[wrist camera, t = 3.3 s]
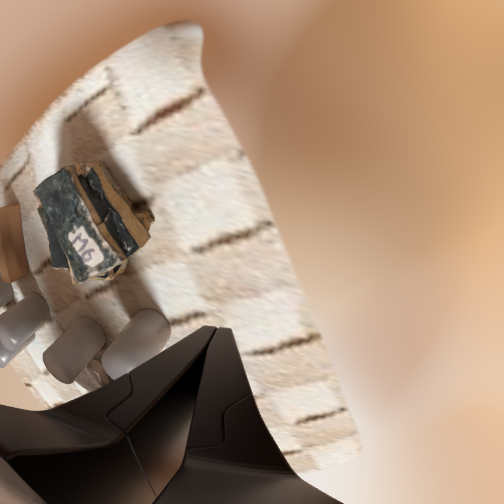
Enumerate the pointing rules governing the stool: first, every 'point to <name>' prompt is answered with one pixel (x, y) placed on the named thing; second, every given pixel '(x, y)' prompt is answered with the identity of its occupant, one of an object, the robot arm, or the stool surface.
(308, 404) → the stool surface
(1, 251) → the bar
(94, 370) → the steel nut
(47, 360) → the spacers
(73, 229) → the rock
